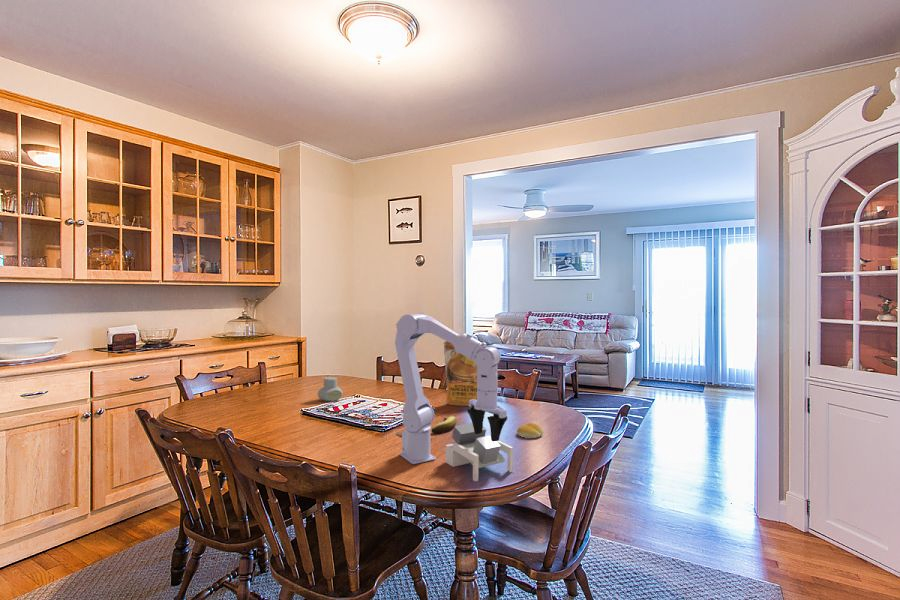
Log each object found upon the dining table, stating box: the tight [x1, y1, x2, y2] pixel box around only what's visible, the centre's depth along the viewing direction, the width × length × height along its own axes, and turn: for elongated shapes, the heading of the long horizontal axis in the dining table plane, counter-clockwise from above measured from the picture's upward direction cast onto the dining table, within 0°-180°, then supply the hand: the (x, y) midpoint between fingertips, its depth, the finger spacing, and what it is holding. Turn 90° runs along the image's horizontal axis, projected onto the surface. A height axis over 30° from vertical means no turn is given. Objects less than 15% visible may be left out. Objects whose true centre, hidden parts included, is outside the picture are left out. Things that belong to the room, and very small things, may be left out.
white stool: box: [445, 440, 514, 482], centre depth 136 cm, size 16×13×7 cm
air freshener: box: [317, 376, 344, 403], centre depth 211 cm, size 11×8×10 cm
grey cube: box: [473, 434, 500, 464], centre depth 132 cm, size 5×5×5 cm
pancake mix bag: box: [443, 341, 488, 407], centre depth 205 cm, size 7×19×28 cm, turn 81°
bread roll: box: [516, 422, 544, 439], centre depth 165 cm, size 8×9×4 cm
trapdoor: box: [451, 422, 506, 469], centre depth 136 cm, size 14×10×4 cm
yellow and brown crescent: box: [396, 416, 458, 444], centre depth 173 cm, size 35×27×4 cm
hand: (486, 437), depth 132 cm, fingers open, 7 cm apart
